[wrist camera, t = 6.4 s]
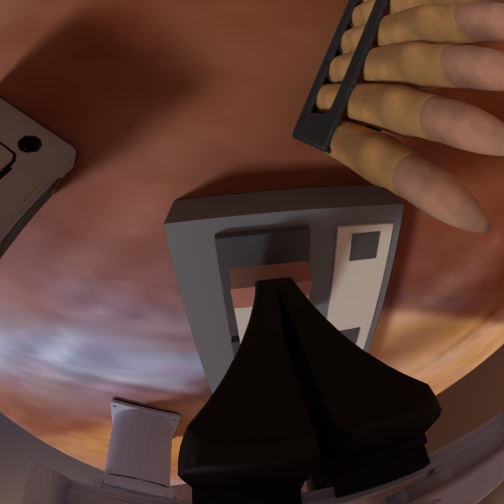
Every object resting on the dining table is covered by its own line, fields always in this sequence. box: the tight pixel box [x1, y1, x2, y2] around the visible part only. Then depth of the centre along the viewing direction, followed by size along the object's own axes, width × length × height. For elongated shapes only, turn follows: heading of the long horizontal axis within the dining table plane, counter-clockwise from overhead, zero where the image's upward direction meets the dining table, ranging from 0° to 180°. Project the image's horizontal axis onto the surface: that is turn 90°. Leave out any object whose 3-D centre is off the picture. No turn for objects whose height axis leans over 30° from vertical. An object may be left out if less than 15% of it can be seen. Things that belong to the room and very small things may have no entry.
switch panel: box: [164, 185, 404, 394], centre depth 20 cm, size 22×12×4 cm, turn 4°
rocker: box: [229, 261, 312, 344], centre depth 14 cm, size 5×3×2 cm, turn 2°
